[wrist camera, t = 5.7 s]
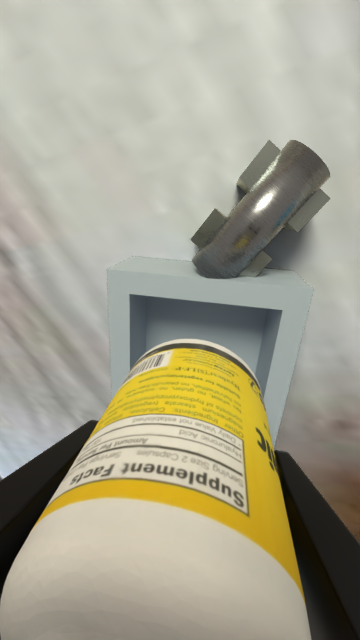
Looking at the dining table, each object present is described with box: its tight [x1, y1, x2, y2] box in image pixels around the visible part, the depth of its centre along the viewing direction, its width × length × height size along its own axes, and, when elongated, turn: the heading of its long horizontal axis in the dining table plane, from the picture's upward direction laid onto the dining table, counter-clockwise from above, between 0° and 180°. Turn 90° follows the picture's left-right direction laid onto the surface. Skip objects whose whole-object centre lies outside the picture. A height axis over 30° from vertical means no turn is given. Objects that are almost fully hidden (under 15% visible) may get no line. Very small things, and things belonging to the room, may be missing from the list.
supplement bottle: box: [0, 339, 311, 640], centre depth 7 cm, size 5×5×10 cm
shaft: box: [191, 140, 330, 279], centre depth 12 cm, size 6×3×4 cm, turn 141°
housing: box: [107, 256, 314, 449], centre depth 14 cm, size 8×8×4 cm
